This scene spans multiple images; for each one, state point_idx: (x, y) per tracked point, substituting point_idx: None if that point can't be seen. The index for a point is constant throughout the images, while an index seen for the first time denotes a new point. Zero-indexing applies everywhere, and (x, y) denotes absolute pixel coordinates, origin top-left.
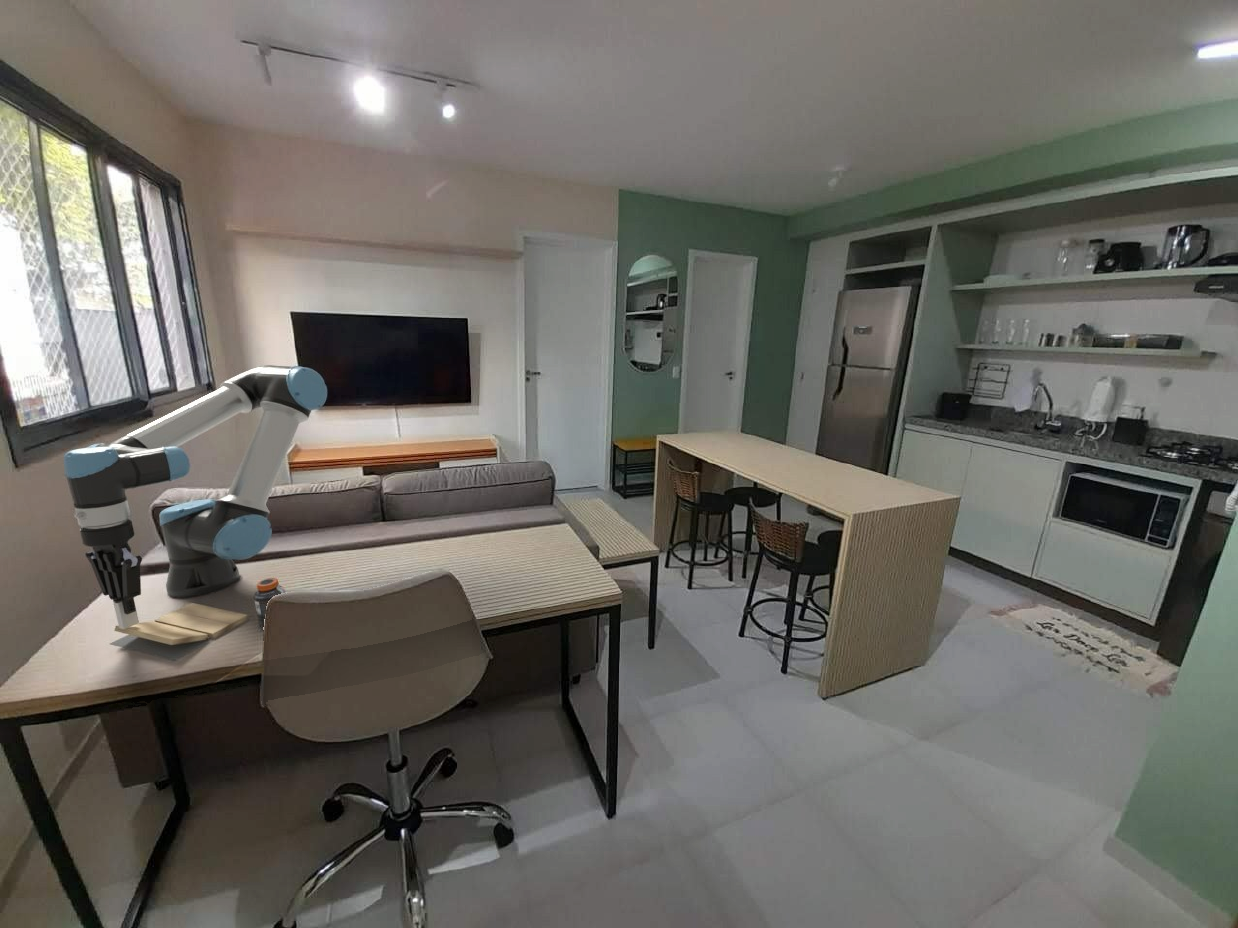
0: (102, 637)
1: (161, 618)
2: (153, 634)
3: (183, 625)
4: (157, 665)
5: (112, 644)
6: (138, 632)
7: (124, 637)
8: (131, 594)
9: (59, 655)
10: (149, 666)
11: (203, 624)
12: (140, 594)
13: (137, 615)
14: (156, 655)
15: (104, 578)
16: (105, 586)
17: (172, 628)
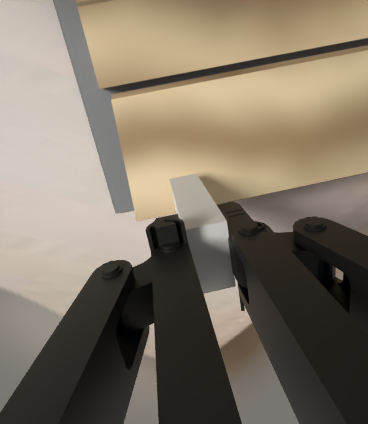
0: (41, 207)
1: (107, 68)
2: (326, 178)
3: (246, 53)
4: (347, 185)
5: (130, 210)
6: (256, 195)
7: (112, 178)
8: (334, 270)
9: (64, 289)
10: (332, 197)
11: (311, 7)
12: (319, 218)
13: (200, 182)
14: None
15: (113, 416)
16: (134, 361)
17: (260, 96)
